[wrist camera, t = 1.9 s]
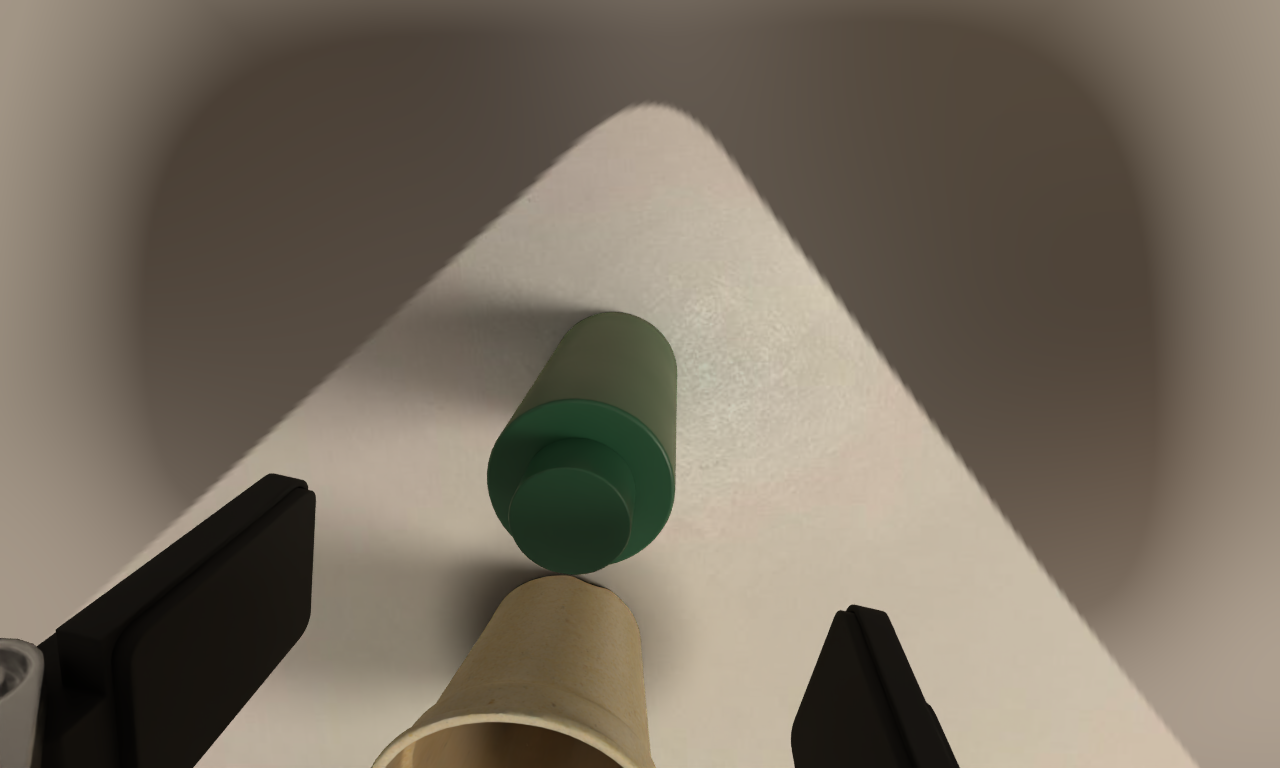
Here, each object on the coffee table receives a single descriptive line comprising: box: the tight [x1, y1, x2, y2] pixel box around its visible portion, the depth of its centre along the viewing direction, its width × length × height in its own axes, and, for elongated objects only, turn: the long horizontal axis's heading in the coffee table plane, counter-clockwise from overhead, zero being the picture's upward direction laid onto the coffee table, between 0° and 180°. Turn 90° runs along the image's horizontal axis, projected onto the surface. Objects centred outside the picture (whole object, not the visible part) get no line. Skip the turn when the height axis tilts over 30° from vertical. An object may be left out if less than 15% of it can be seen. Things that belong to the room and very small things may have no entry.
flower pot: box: [371, 575, 656, 768], centre depth 23 cm, size 9×9×9 cm
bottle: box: [487, 312, 677, 575], centre depth 18 cm, size 4×4×10 cm
